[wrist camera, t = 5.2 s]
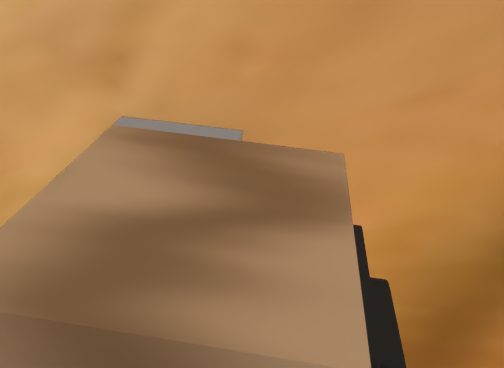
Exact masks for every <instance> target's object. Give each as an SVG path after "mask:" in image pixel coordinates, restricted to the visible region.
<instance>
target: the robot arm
mask: <svg viewBox="0 0 504 368" xmlns="http://www.w3.org/2000/svg"><path fill="white" fill-rule="evenodd" d="M353 228H354V236H355V244H356V252H357V260H358V268H359V276H360V283H361V291H362V299H363V307H364V315H365V323H366V331H367V338H368V346H369V354H370V362H371V368H406V363H405V359H404V354H403V349H402V344H401V339H400V335H399V330H398V325H397V320H396V315H395V311H394V306H393V301H392V296H391V292H390V287H389V284H388V282H387V280H384V279H377V278H371V277H370V276H369V269H368V263H367V257H366V250H365V244H364V237H363V231H362V227H361V226H359V225H353Z"/></svg>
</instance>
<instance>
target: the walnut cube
mask: <svg viewBox="0 0 504 368" xmlns="http://www.w3.org/2000/svg"><path fill="white" fill-rule="evenodd" d="M0 368H371V362H370V354H369V346H368V338H367V331H366V323H365V315H364V307H363V299H362V291H361V283H360V276H359V268H358V260H357V252H356V244H355V236H354V228H353V220H352V213H351V205H350V197H349V189H348V181H347V173H346V165H345V157H344V154H342V153H334V152H326V151H318V150H310V149H302V148H294V147H286V146H278V145H269V144H261V143H253V142H245V141H237V140H229V139H221V138H213V137H205V136H197V135H189V134H181V133H173V132H165V131H157V130H148V129H140V128H132V127H124V126H116V125H112V126H111V127H110V128H109V129H108V130H107V131H106V132H104V133H103V134H102V135H101V136H100V137H99V138H98V139H97V140H96V141H95V142H94V143H92V144H91V145H90V146H89V147H88V148H87V149H86V150H85V151H84V152H83V153H81V154H80V155H79V156H78V157H77V158H76V159H75V160H74V161H73V162H72V163H71V164H69V165H68V166H67V167H66V168H65V169H64V170H63V171H62V172H61V173H60V174H59V175H57V176H56V177H55V178H54V179H53V180H52V181H51V182H50V183H49V184H48V185H46V186H45V187H44V188H43V189H42V190H41V191H40V192H39V193H38V194H37V195H36V196H34V197H33V198H32V199H31V200H30V201H29V202H28V203H27V204H26V205H25V206H23V207H22V208H21V209H20V210H19V211H18V212H17V213H16V214H15V215H14V216H13V217H11V218H10V219H9V220H8V221H7V222H6V223H5V224H4V225H3V226H2V227H1V228H0Z"/></svg>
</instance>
